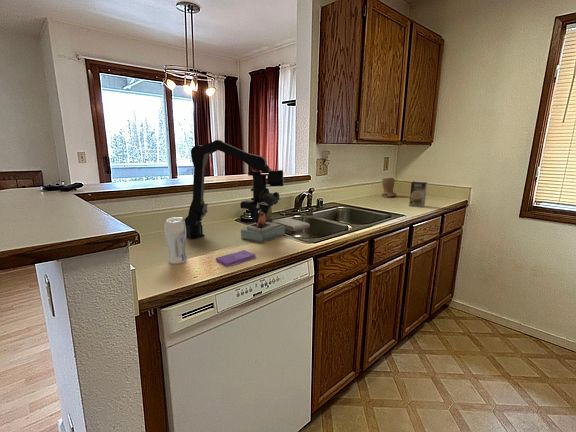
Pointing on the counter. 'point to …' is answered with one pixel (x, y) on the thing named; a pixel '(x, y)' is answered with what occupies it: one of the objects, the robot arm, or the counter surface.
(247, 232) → the grey piece
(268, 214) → the squeeze bottle
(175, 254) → the beer glass
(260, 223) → the spout can
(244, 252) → the sponges
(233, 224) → the counter surface
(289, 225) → the washcloth
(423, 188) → the coffee box
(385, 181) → the brown boot
